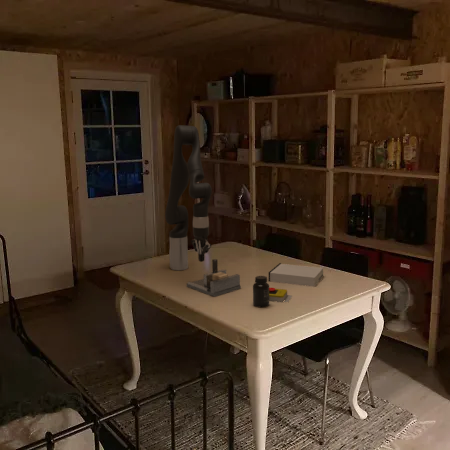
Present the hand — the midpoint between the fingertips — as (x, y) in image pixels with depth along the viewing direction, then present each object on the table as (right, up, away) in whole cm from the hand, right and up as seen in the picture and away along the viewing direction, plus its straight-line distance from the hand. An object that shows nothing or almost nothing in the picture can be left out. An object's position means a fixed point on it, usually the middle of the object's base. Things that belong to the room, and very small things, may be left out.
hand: (201, 261), depth 241 cm
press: (+6, -12, -4) cm, 14 cm away
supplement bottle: (+26, -17, -27) cm, 41 cm away
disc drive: (+46, -10, +7) cm, 47 cm away
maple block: (+9, -11, -8) cm, 17 cm away
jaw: (+7, -11, -6) cm, 14 cm away
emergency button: (+32, -15, -19) cm, 40 cm away
